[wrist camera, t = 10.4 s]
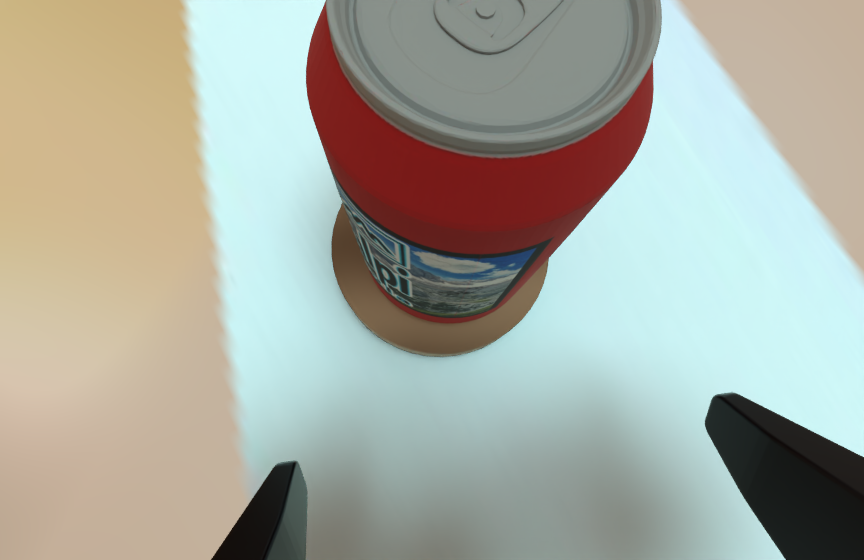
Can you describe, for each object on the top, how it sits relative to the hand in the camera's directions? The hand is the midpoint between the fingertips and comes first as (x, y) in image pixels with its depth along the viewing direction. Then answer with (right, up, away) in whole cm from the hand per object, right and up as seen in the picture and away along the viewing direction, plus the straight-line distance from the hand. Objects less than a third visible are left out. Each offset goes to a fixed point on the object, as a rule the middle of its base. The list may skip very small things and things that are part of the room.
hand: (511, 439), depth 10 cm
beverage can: (-1, +5, +9) cm, 10 cm away
